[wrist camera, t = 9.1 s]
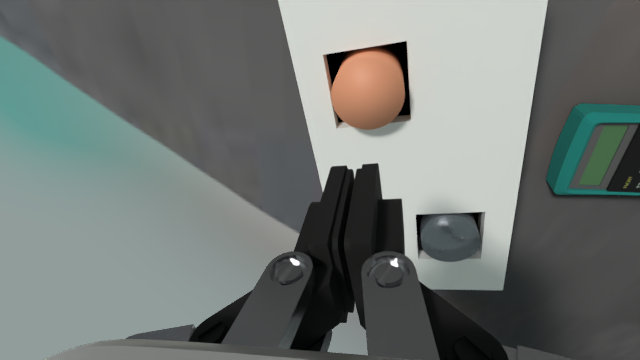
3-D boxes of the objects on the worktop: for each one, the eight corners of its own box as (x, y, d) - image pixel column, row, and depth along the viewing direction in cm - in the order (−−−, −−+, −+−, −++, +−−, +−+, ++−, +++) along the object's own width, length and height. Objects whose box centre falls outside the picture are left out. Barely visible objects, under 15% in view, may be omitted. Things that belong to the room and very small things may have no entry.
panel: (518, -70, 20) (559, -76, 15) (486, 241, 34) (502, 290, 29) (298, -21, 24) (275, -13, 19) (351, 243, 37) (345, 287, 33)
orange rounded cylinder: (400, 32, 23) (402, 53, 18) (403, 94, 25) (406, 125, 21) (337, 43, 24) (325, 65, 19) (346, 101, 26) (337, 133, 22)
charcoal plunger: (468, 178, 29) (482, 220, 25) (466, 217, 31) (478, 261, 27) (416, 182, 30) (420, 222, 26) (417, 219, 32) (422, 262, 28)
